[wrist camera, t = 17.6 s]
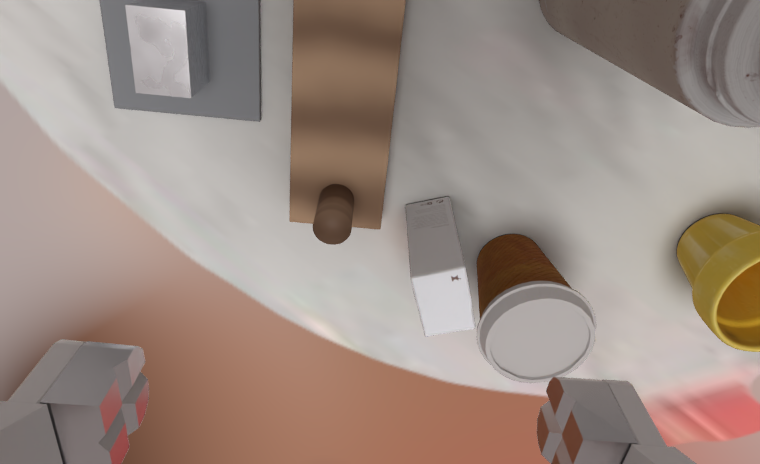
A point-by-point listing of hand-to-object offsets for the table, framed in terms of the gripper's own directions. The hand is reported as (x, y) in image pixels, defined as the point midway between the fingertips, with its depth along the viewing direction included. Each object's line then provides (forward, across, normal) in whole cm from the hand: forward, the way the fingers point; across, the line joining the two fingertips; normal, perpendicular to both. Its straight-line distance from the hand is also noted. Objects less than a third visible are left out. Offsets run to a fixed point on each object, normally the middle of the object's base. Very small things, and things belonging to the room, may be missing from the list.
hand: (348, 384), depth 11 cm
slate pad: (+37, +15, +1) cm, 40 cm away
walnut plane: (+37, +2, +5) cm, 37 cm away
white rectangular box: (+36, +15, +1) cm, 39 cm away
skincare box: (+37, -7, +16) cm, 41 cm away
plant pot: (+37, -34, +15) cm, 53 cm away
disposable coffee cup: (+37, -15, +19) cm, 44 cm away
